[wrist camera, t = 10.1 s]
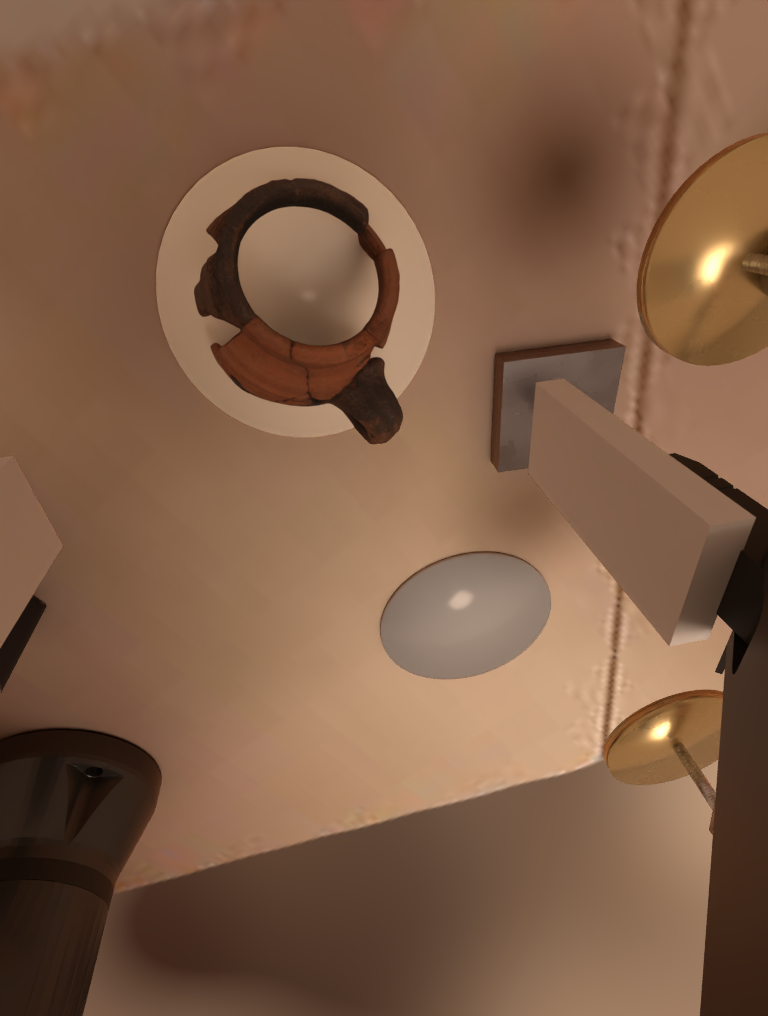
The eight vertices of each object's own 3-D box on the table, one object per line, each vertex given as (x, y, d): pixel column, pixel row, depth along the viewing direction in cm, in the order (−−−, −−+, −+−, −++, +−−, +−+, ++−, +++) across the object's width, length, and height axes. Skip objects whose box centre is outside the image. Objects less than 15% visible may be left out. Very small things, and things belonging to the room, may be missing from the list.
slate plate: (387, 688, 44) (387, 691, 44) (372, 568, 37) (372, 570, 36) (541, 661, 45) (542, 664, 45) (558, 538, 38) (560, 541, 37)
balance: (485, 569, 38) (642, 901, 21) (503, 154, 24) (1069, 115, 6) (575, 555, 39) (800, 868, 21) (646, 140, 24) (1528, 67, 7)
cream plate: (203, 450, 30) (202, 452, 29) (111, 162, 22) (109, 162, 22) (436, 418, 31) (438, 420, 30) (429, 132, 23) (431, 131, 23)
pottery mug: (158, 321, 26) (132, 254, 18) (289, 205, 27) (318, 98, 19) (325, 487, 29) (365, 492, 21) (434, 375, 30) (508, 341, 23)
